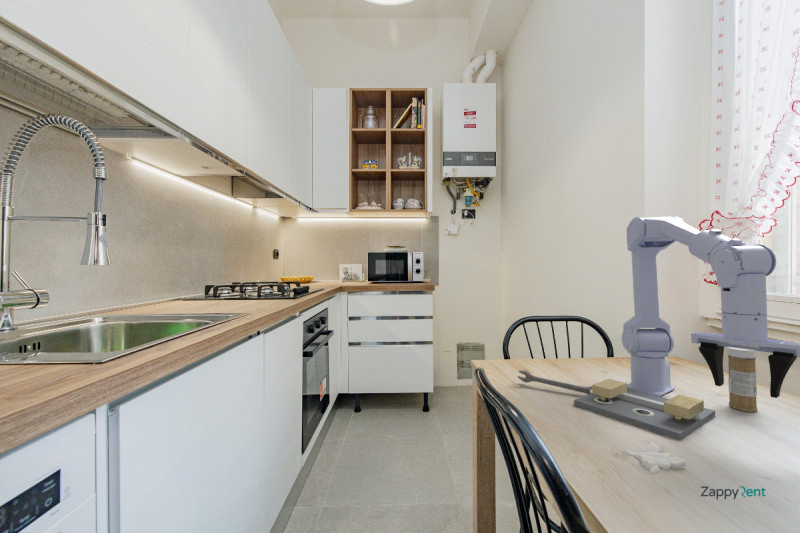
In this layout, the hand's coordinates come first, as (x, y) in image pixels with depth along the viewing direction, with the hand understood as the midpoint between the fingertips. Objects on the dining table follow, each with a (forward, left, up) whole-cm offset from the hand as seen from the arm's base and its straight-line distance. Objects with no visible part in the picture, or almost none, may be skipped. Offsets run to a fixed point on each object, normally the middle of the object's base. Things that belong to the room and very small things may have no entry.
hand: (745, 390), depth 61 cm
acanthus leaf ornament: (+19, -7, -10) cm, 23 cm away
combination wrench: (+2, -35, -9) cm, 36 cm away
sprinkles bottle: (-20, -5, -10) cm, 23 cm away
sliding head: (0, -9, -8) cm, 12 cm away
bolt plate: (-1, -17, -9) cm, 19 cm away
